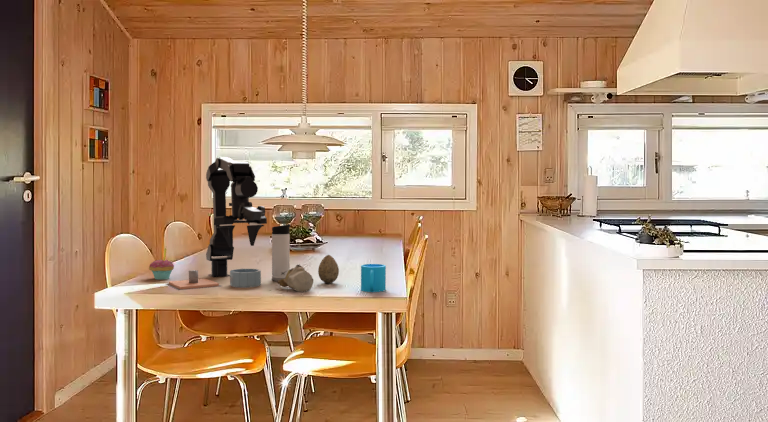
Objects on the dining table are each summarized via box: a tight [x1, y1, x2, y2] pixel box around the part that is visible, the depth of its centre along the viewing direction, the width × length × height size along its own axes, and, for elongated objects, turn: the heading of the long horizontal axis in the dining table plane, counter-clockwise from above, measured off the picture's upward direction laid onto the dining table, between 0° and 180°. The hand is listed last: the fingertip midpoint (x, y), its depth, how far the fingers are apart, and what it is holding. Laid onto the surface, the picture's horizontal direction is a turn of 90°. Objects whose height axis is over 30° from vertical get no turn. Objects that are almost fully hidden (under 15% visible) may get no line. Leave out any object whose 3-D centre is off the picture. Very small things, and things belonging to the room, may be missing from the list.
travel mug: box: [271, 224, 291, 282], centre depth 253 cm, size 6×7×20 cm
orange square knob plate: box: [168, 269, 220, 290], centre depth 239 cm, size 13×13×5 cm
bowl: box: [229, 268, 262, 289], centre depth 240 cm, size 10×10×5 cm
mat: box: [165, 282, 222, 291], centre depth 239 cm, size 15×15×1 cm
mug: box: [360, 263, 387, 293], centre depth 232 cm, size 12×8×8 cm
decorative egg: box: [317, 254, 340, 284], centre depth 247 cm, size 7×7×10 cm
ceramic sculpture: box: [276, 264, 314, 293], centre depth 234 cm, size 11×9×15 cm
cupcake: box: [148, 247, 175, 280], centre depth 253 cm, size 9×8×12 cm
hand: (241, 246), depth 236 cm, fingers open, 9 cm apart
